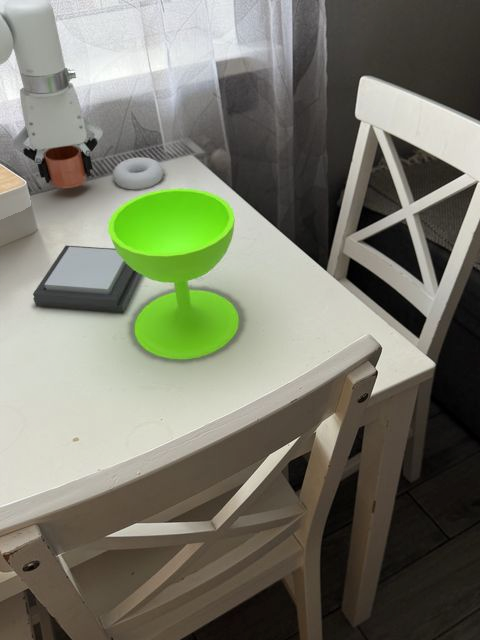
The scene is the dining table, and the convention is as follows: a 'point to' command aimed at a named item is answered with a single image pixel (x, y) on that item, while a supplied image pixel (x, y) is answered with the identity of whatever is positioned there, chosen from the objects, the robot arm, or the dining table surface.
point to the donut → (138, 173)
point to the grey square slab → (87, 271)
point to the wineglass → (178, 268)
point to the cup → (65, 166)
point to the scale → (89, 300)
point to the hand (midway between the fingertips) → (67, 175)
